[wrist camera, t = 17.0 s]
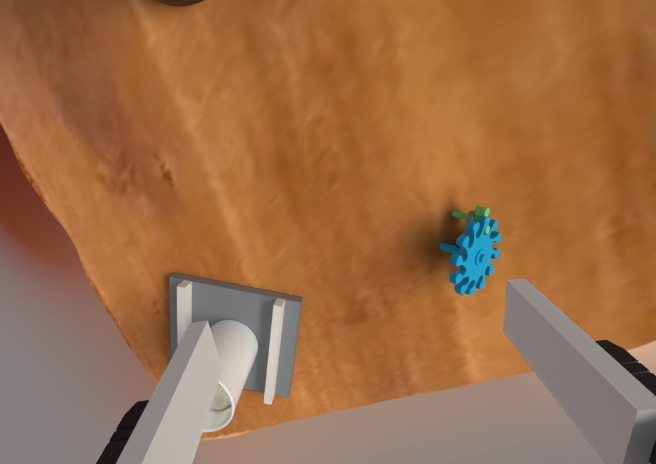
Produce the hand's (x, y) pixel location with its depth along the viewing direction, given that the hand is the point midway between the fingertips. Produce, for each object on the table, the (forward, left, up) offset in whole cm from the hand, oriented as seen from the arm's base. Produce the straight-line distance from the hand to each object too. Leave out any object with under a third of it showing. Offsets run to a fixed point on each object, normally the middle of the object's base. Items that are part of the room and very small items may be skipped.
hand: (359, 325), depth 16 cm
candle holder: (+11, -30, -30) cm, 44 cm away
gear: (+13, +7, -32) cm, 35 cm away
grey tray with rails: (+10, -31, -32) cm, 45 cm away
